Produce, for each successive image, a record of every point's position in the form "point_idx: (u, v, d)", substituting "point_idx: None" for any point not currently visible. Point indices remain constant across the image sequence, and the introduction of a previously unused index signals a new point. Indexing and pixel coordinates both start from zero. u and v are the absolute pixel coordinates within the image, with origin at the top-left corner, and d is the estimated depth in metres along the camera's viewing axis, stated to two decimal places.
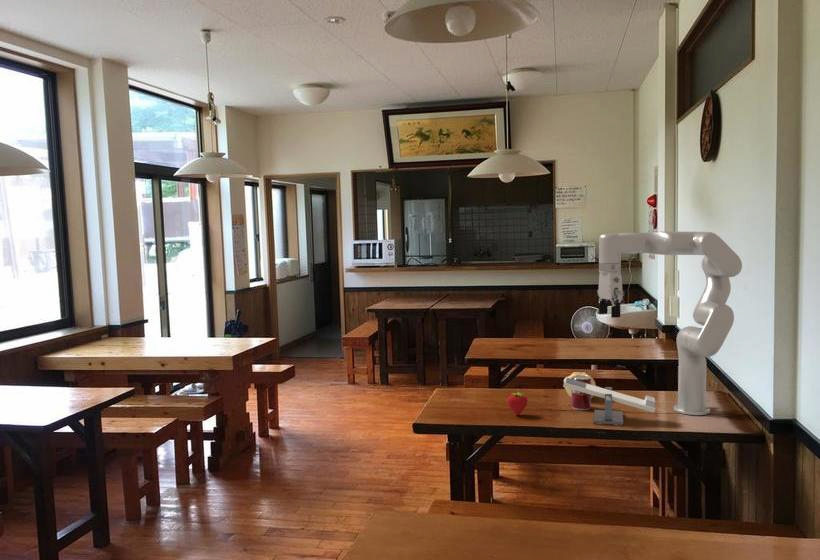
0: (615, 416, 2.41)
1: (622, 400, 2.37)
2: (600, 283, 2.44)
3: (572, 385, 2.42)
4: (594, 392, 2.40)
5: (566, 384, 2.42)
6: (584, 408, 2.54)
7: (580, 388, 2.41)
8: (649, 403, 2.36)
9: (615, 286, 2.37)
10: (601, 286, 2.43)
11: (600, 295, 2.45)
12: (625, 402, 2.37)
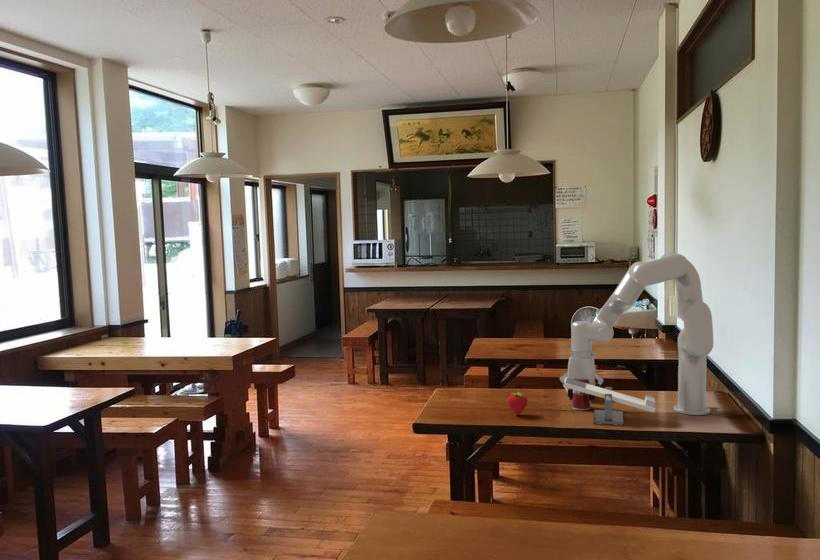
0: (615, 416, 2.41)
1: (622, 400, 2.37)
2: (574, 369, 2.55)
3: (572, 385, 2.42)
4: (594, 392, 2.40)
5: (566, 384, 2.42)
6: (584, 408, 2.54)
7: (580, 388, 2.41)
8: (649, 403, 2.36)
9: (594, 370, 2.55)
10: (577, 372, 2.55)
11: None
12: (625, 402, 2.37)
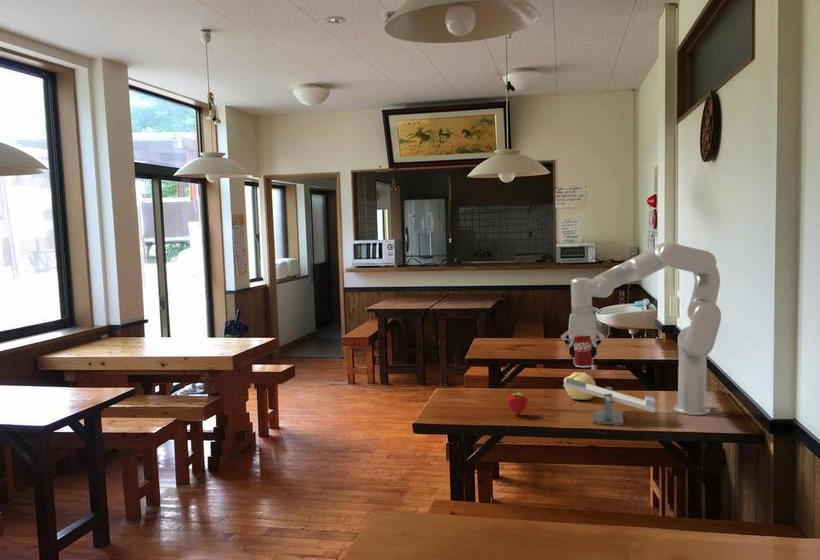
0: (615, 416, 2.41)
1: (622, 400, 2.37)
2: (575, 326, 2.54)
3: (572, 385, 2.42)
4: (594, 392, 2.40)
5: (566, 384, 2.42)
6: (586, 365, 2.53)
7: (580, 388, 2.41)
8: (649, 403, 2.36)
9: (595, 326, 2.53)
10: (578, 329, 2.53)
11: None
12: (625, 402, 2.37)
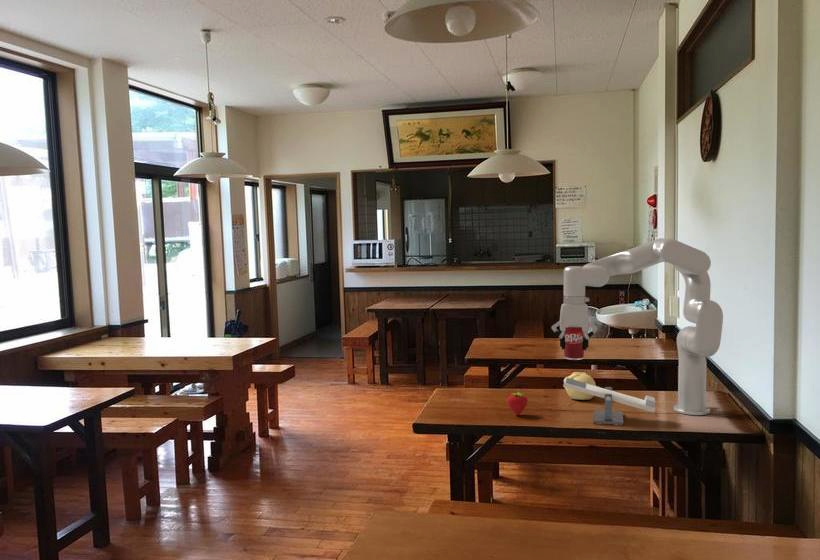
0: (615, 416, 2.41)
1: (622, 400, 2.37)
2: (567, 317, 2.42)
3: (572, 385, 2.42)
4: (594, 392, 2.40)
5: (566, 384, 2.42)
6: (577, 357, 2.41)
7: (580, 388, 2.41)
8: (649, 403, 2.36)
9: (588, 317, 2.41)
10: (569, 319, 2.41)
11: None
12: (625, 402, 2.37)
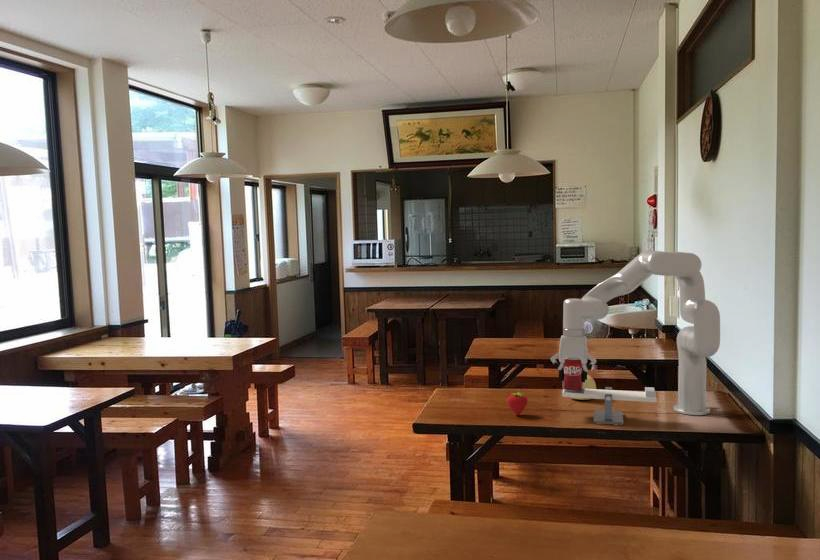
0: (615, 416, 2.41)
1: (622, 397, 2.37)
2: (566, 349, 2.43)
3: (571, 393, 2.42)
4: (593, 395, 2.40)
5: (565, 394, 2.43)
6: (576, 390, 2.42)
7: (579, 394, 2.41)
8: (649, 394, 2.35)
9: (587, 350, 2.42)
10: (568, 352, 2.42)
11: None
12: (626, 398, 2.37)
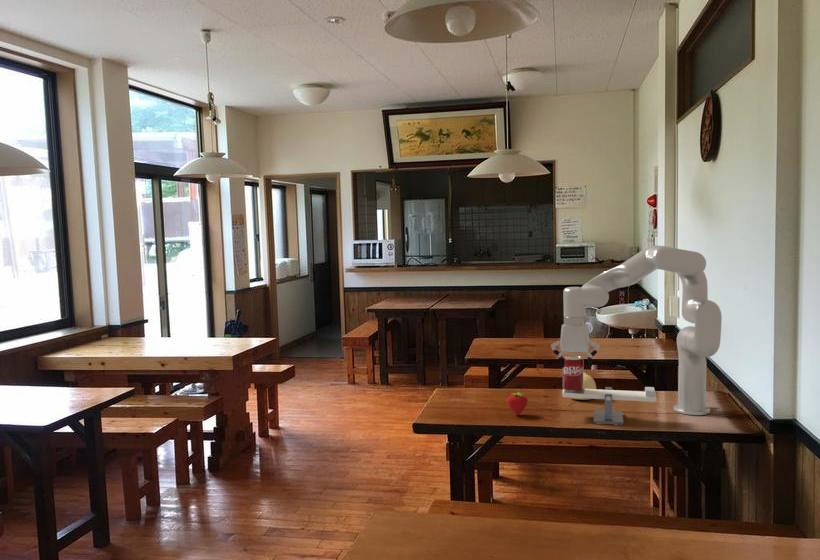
0: (615, 416, 2.41)
1: (622, 397, 2.37)
2: (567, 337, 2.42)
3: (571, 393, 2.42)
4: (593, 395, 2.40)
5: (565, 394, 2.43)
6: (576, 390, 2.42)
7: (579, 395, 2.41)
8: (649, 394, 2.35)
9: None
10: (570, 340, 2.42)
11: (566, 349, 2.43)
12: (626, 398, 2.37)
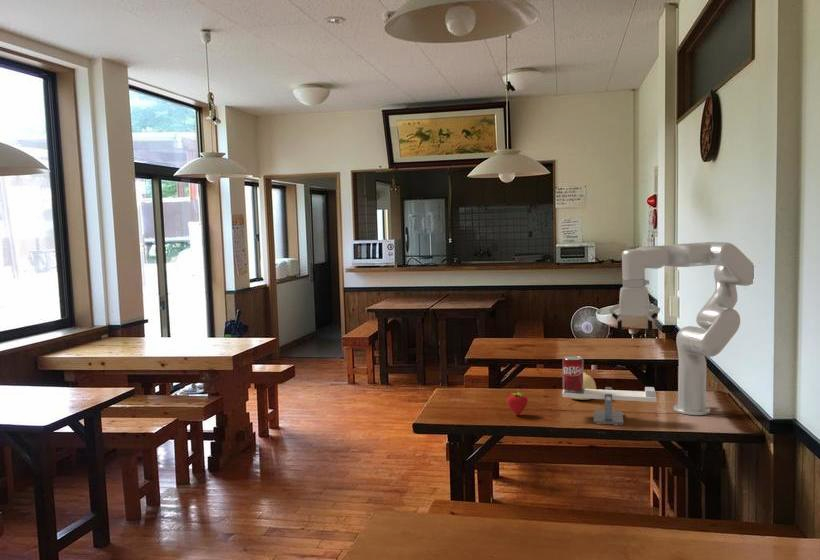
0: (615, 416, 2.41)
1: (622, 397, 2.37)
2: (627, 300, 2.39)
3: (571, 393, 2.42)
4: (593, 395, 2.40)
5: (565, 394, 2.43)
6: (576, 390, 2.42)
7: (579, 395, 2.41)
8: (649, 394, 2.35)
9: None
10: (630, 303, 2.38)
11: (626, 313, 2.40)
12: (626, 398, 2.37)
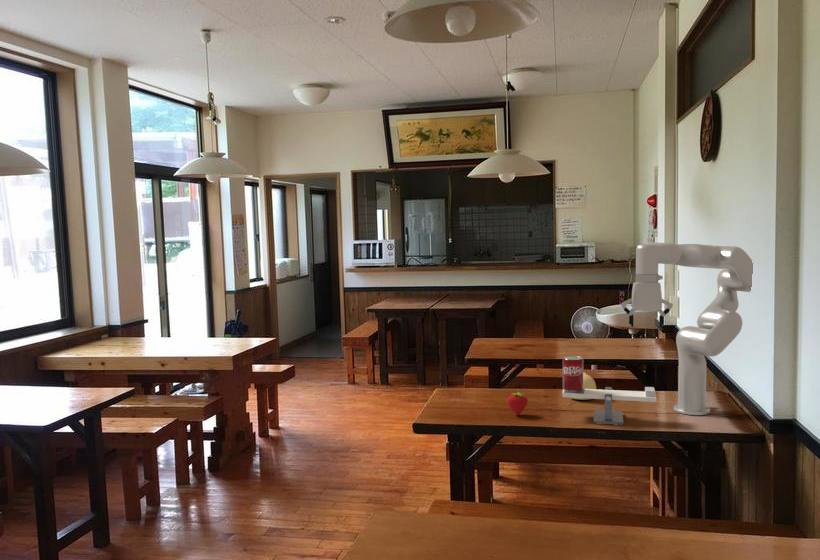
0: (615, 416, 2.41)
1: (622, 397, 2.37)
2: (639, 295, 2.38)
3: (571, 393, 2.42)
4: (593, 395, 2.40)
5: (565, 394, 2.43)
6: (576, 390, 2.42)
7: (579, 395, 2.41)
8: (649, 394, 2.35)
9: (661, 296, 2.38)
10: (642, 298, 2.38)
11: (638, 307, 2.39)
12: (626, 398, 2.37)
